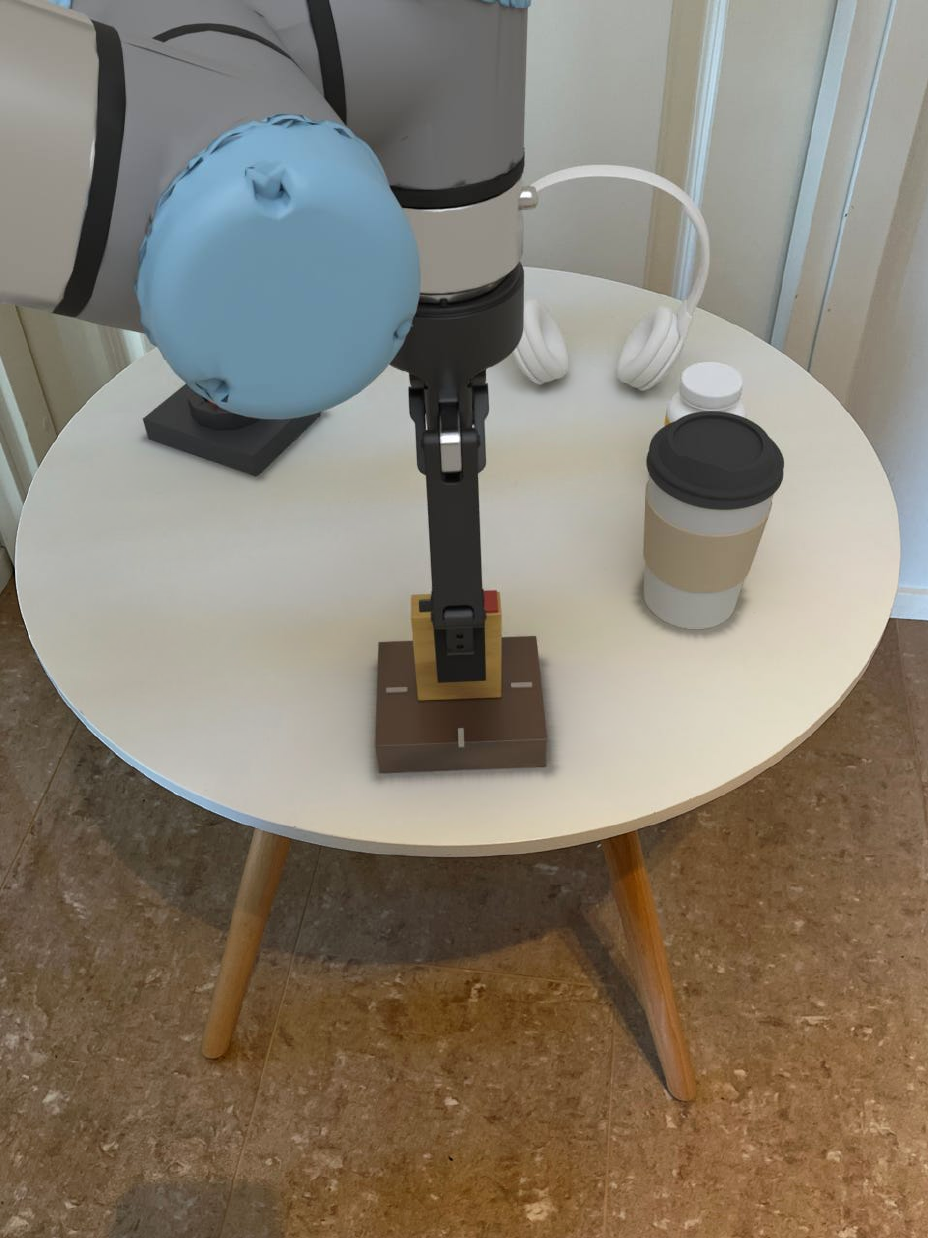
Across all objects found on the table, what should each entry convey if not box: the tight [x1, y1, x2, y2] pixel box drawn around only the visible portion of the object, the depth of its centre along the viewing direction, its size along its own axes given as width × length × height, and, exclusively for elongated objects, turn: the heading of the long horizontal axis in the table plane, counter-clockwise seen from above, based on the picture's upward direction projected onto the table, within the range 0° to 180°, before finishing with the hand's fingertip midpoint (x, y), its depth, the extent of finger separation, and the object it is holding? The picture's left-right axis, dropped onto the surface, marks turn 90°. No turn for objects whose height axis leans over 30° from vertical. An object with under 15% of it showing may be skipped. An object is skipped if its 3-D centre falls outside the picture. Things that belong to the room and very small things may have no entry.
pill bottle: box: [664, 361, 747, 426], centre depth 84 cm, size 6×6×11 cm
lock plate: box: [374, 635, 548, 774], centre depth 71 cm, size 11×10×3 cm
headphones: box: [511, 164, 711, 392], centre depth 92 cm, size 7×18×20 cm, turn 82°
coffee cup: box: [642, 411, 785, 630], centre depth 74 cm, size 9×9×15 cm
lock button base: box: [142, 383, 322, 477], centre depth 95 cm, size 12×10×4 cm
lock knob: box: [410, 589, 503, 701], centre depth 67 cm, size 6×2×8 cm, turn 92°
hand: (458, 591), depth 64 cm, fingers open, 13 cm apart
